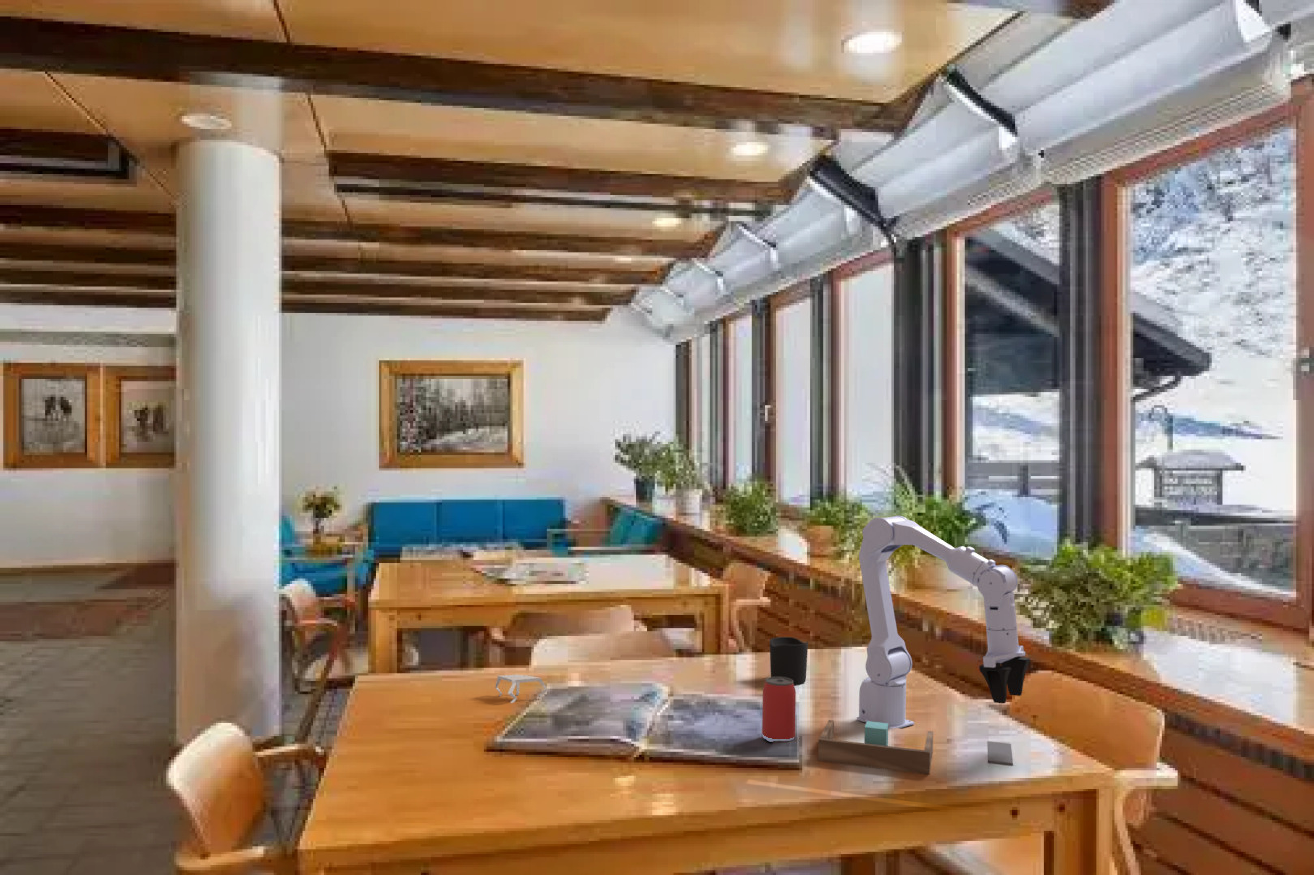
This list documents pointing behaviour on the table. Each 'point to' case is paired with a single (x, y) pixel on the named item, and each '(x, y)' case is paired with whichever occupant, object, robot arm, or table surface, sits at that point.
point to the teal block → (876, 733)
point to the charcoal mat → (999, 753)
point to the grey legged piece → (518, 683)
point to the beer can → (778, 708)
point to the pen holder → (788, 659)
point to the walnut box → (874, 753)
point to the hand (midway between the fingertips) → (1007, 698)
